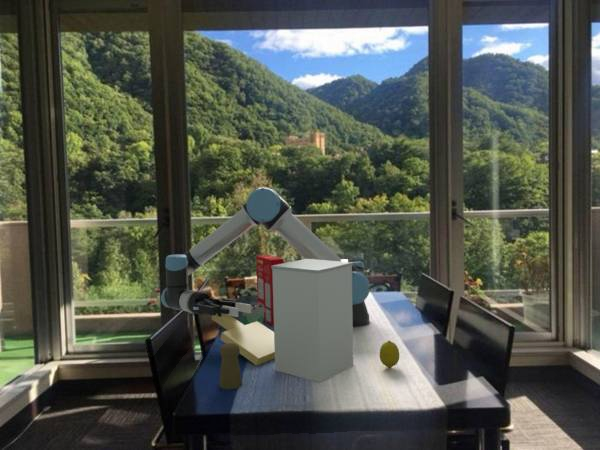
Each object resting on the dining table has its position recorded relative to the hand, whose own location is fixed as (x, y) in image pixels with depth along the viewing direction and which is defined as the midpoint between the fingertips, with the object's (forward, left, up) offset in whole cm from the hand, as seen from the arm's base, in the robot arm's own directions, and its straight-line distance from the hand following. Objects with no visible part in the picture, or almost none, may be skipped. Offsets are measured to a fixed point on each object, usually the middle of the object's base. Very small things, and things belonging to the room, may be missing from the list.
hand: (243, 310), depth 167 cm
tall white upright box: (-7, +27, -13) cm, 31 cm away
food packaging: (-27, -26, -13) cm, 40 cm away
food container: (-13, -14, -13) cm, 23 cm away
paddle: (0, 0, -9) cm, 9 cm away
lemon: (-23, +41, -13) cm, 49 cm away
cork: (+18, +23, -13) cm, 32 cm away
